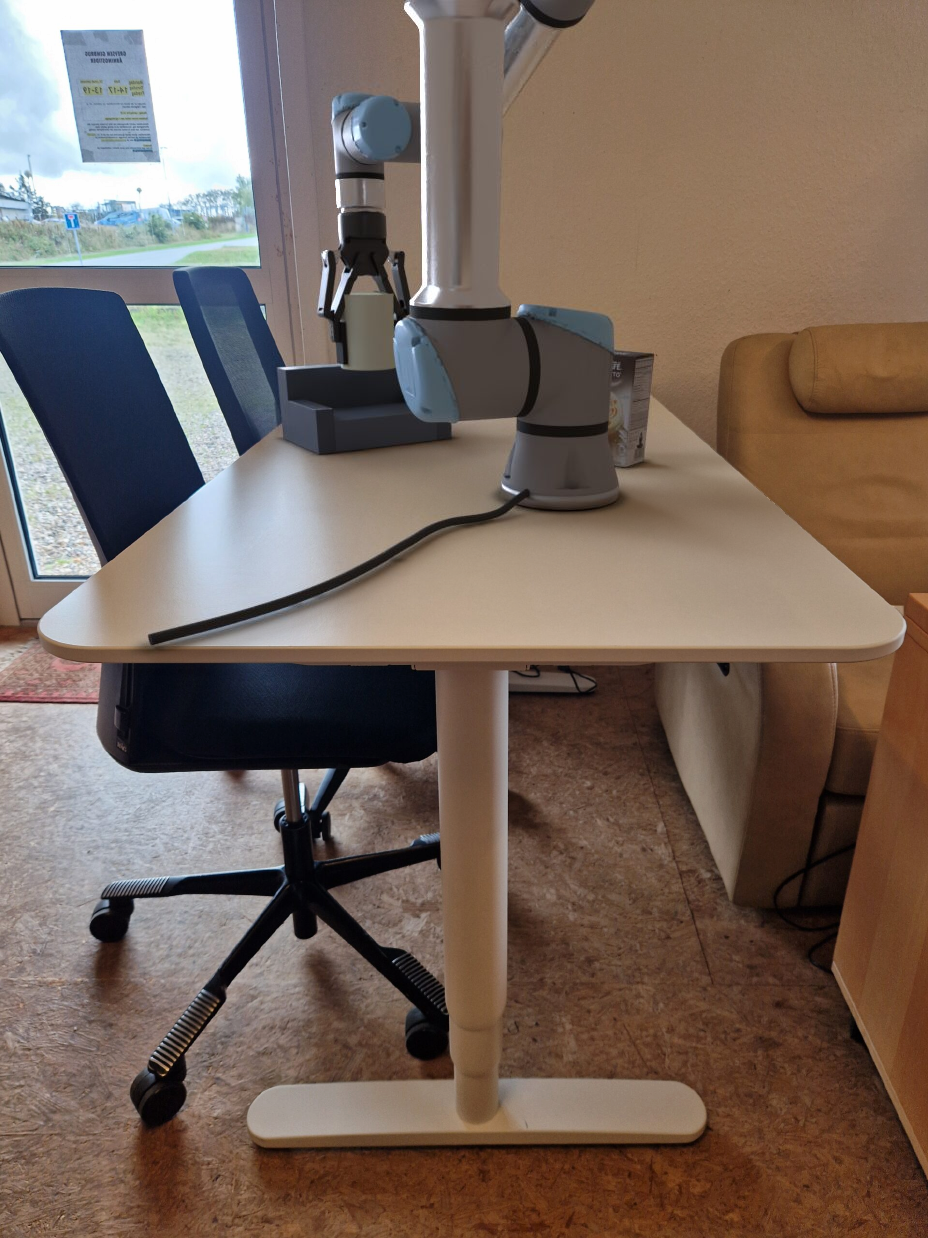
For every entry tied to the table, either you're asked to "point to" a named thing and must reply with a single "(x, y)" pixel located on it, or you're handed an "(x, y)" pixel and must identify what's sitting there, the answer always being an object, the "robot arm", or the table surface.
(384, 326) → the can
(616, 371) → the coffee box
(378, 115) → the robot arm
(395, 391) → the couch
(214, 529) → the table surface
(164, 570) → the table surface
